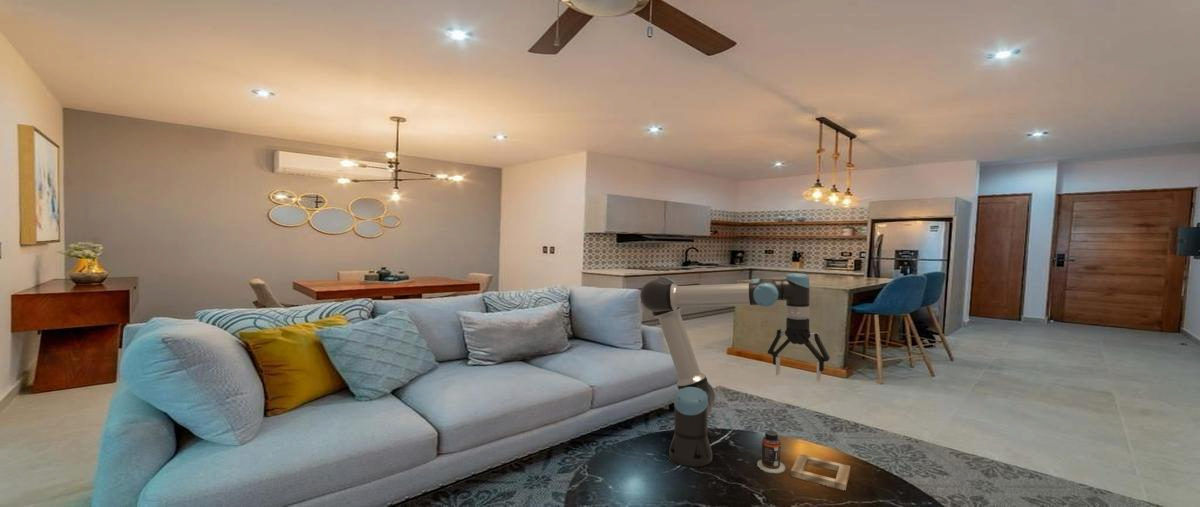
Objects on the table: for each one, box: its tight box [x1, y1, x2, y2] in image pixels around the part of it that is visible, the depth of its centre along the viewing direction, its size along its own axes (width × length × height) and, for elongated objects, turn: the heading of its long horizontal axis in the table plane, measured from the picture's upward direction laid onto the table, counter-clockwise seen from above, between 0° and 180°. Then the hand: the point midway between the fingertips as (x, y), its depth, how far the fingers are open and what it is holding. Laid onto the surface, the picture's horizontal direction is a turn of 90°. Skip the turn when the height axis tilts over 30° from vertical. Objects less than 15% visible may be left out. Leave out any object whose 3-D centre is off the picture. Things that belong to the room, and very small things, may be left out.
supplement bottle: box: [761, 430, 782, 469], centre depth 163 cm, size 6×6×11 cm
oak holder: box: [790, 453, 851, 491], centre depth 158 cm, size 16×14×2 cm
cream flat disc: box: [757, 459, 786, 475], centre depth 163 cm, size 9×9×1 cm
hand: (797, 377), depth 169 cm, fingers open, 13 cm apart
